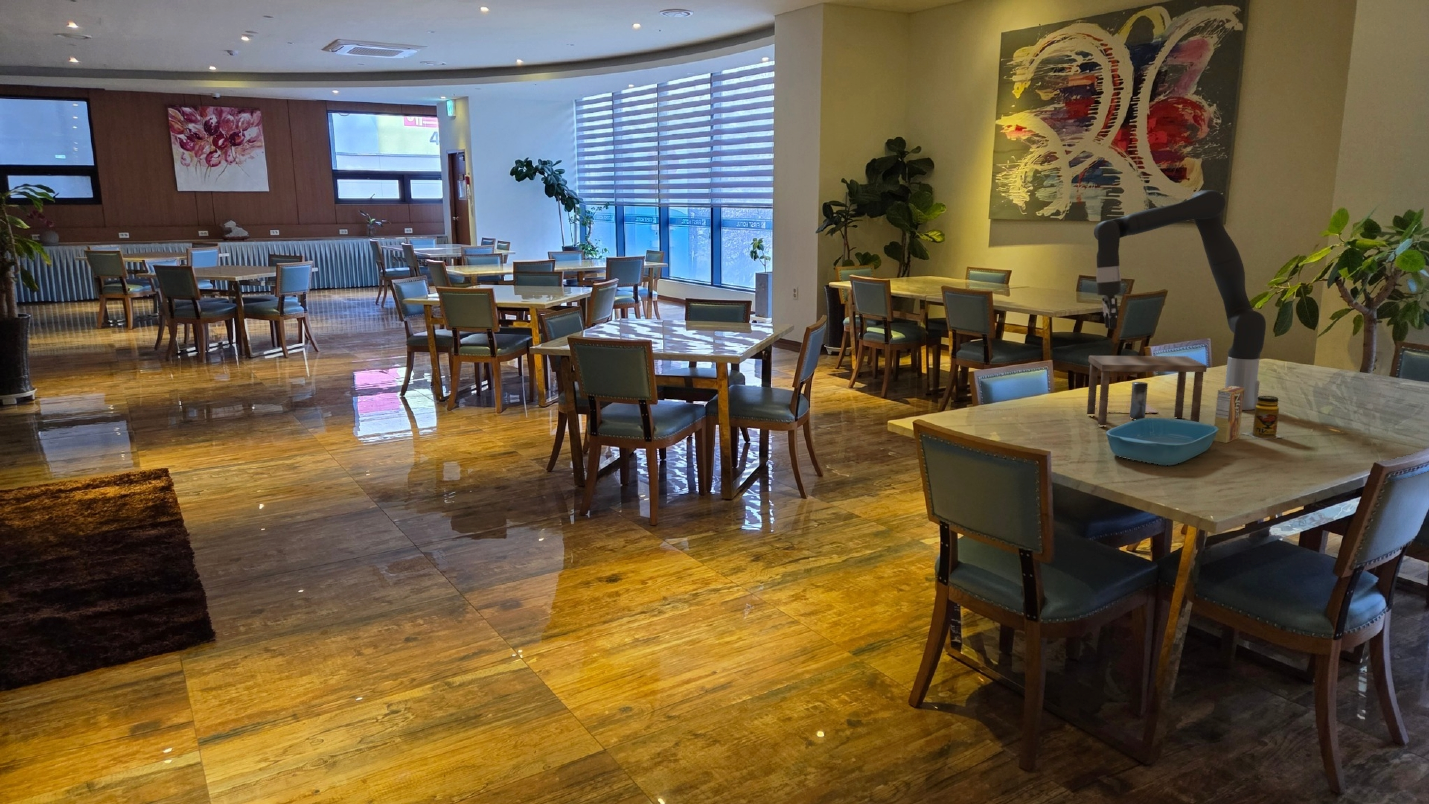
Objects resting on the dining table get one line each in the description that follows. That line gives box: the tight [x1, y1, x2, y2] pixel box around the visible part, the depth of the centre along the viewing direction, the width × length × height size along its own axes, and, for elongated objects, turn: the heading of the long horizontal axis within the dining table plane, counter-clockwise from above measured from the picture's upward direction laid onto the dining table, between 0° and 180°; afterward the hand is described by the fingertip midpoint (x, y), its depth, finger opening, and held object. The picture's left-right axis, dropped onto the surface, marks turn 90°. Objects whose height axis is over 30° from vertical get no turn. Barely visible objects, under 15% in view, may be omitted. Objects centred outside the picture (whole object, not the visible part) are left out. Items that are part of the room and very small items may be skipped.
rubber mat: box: [1127, 403, 1159, 414], centre depth 313 cm, size 18×16×1 cm
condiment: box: [1241, 395, 1282, 440], centre depth 272 cm, size 7×8×12 cm
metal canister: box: [1129, 381, 1149, 420], centre depth 295 cm, size 4×4×12 cm
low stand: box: [1086, 355, 1208, 426], centre depth 290 cm, size 30×18×20 cm, turn 81°
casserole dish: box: [1105, 417, 1219, 466], centre depth 256 cm, size 37×22×7 cm, turn 133°
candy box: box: [1213, 386, 1245, 444], centre depth 268 cm, size 9×4×15 cm, turn 129°
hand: (1110, 328), depth 311 cm, fingers open, 8 cm apart
